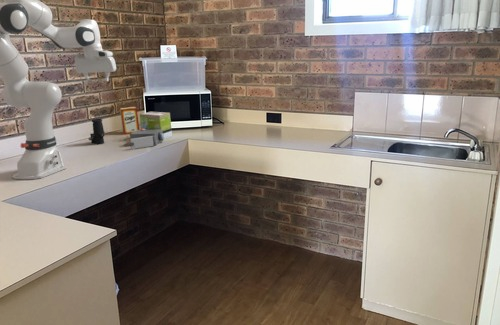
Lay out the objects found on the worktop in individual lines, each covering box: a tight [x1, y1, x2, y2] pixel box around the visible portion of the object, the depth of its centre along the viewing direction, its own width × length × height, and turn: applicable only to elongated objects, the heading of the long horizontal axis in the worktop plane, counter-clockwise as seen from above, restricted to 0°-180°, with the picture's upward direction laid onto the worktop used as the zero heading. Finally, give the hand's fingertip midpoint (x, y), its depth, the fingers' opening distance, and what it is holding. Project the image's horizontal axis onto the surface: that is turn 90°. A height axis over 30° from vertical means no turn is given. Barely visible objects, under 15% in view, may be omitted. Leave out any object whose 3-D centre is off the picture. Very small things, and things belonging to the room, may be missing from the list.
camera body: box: [129, 128, 165, 146], centre depth 226 cm, size 12×16×7 cm
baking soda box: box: [119, 106, 140, 136], centre depth 256 cm, size 10×6×16 cm
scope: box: [88, 118, 106, 145], centre depth 230 cm, size 8×14×10 cm
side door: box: [129, 136, 156, 150], centre depth 216 cm, size 2×13×5 cm, turn 117°
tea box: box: [139, 111, 173, 141], centre depth 238 cm, size 15×10×15 cm, turn 63°
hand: (98, 81), depth 207 cm, fingers open, 8 cm apart
